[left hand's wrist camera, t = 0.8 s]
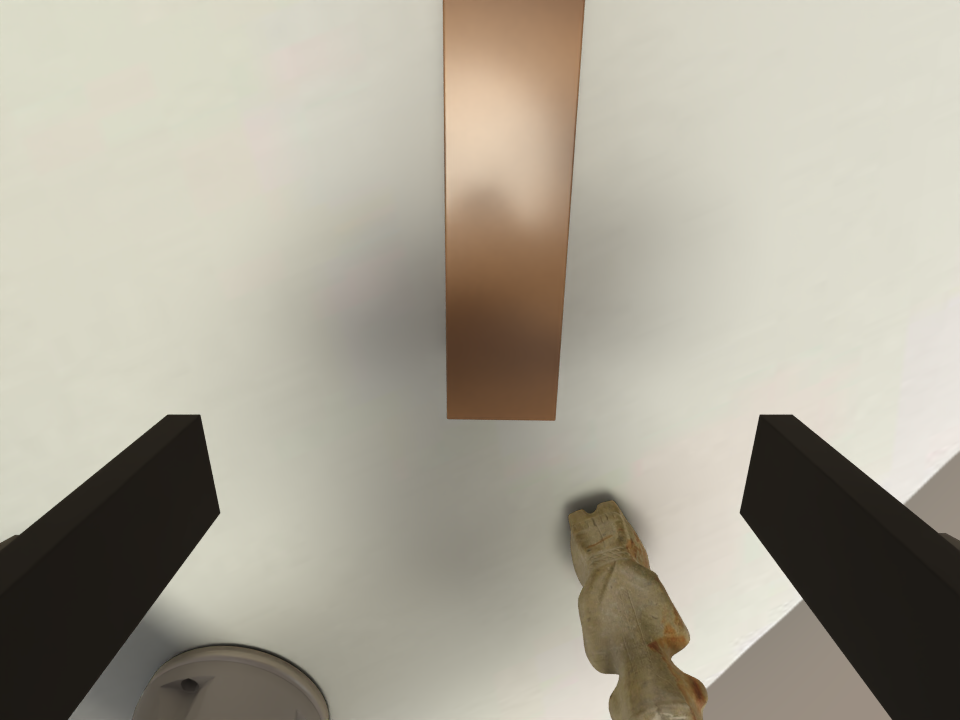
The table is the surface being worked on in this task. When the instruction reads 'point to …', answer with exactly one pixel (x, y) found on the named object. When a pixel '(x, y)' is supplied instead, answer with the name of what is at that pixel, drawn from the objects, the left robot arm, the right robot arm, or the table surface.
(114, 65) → the table surface
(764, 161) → the table surface
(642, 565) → the sculpture
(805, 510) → the left robot arm
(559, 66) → the bar
